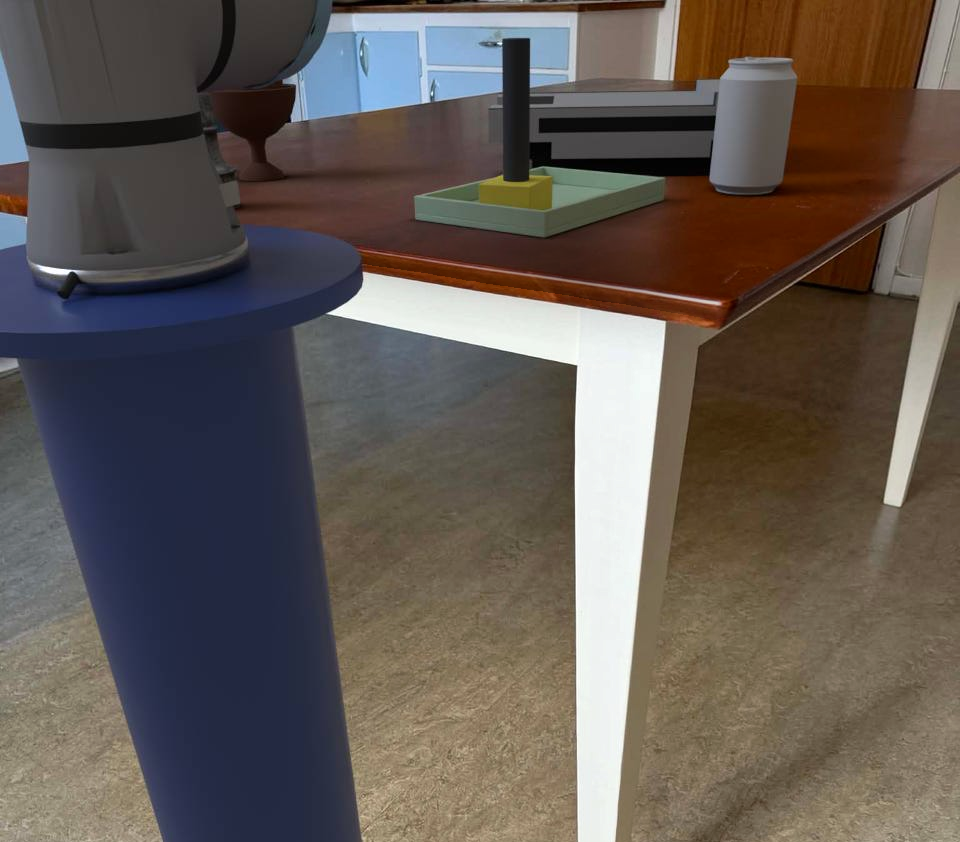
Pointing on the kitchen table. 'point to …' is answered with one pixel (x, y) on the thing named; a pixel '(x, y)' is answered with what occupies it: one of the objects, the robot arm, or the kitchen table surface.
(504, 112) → the sponge wand
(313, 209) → the kitchen table surface
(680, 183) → the kitchen table surface
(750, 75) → the can
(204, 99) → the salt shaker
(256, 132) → the ice cream bowl
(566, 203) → the tray
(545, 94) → the game console
